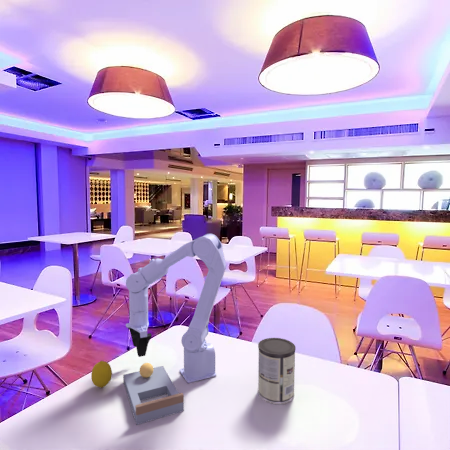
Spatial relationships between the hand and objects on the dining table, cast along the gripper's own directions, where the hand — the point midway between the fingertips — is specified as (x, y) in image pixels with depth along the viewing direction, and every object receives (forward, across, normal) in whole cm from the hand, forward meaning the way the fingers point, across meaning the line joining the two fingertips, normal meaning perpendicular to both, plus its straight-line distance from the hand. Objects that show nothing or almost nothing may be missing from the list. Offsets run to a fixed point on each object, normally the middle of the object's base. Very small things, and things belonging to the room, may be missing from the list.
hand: (139, 350), depth 103 cm
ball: (+3, +10, 0) cm, 11 cm away
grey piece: (+6, +16, 0) cm, 17 cm away
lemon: (+6, +6, -12) cm, 15 cm away
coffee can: (+6, +30, +32) cm, 44 cm away
